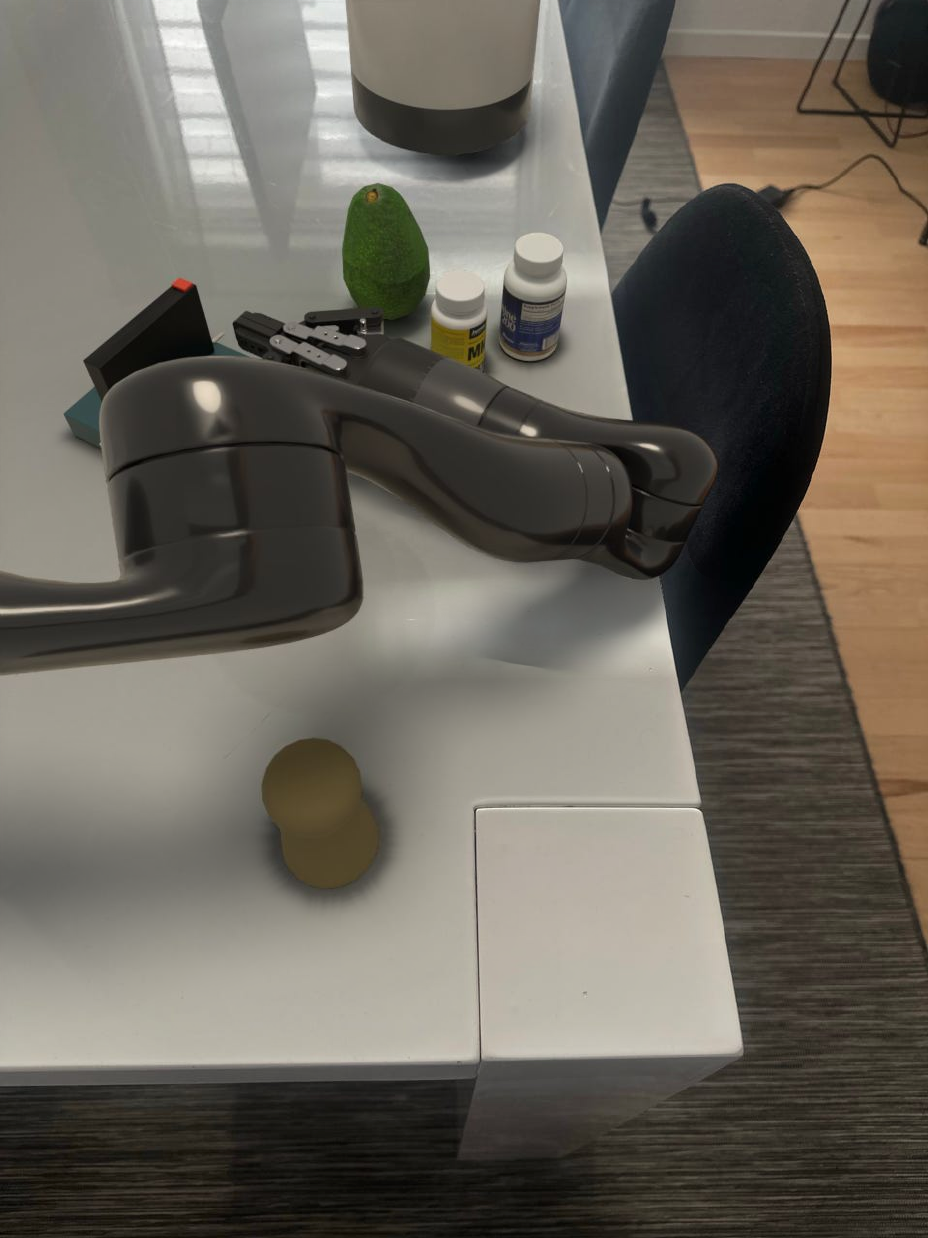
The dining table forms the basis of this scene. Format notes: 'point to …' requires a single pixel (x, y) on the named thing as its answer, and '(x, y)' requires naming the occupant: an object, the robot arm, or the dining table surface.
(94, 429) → the teal base plate
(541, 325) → the pill bottle
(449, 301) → the supplement bottle
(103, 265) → the dining table surface
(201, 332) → the red-tipped black panel
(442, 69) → the planter
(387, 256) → the avocado
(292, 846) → the cork
